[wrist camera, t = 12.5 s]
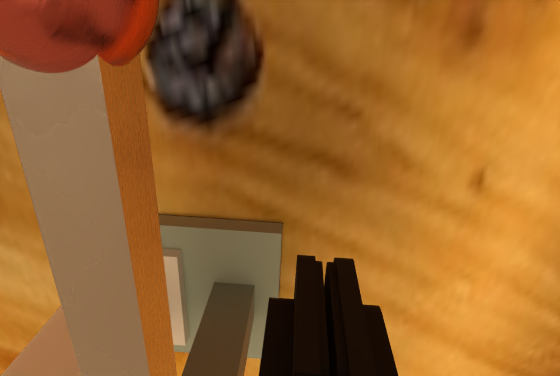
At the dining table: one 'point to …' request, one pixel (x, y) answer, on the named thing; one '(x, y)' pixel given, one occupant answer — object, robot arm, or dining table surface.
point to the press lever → (92, 173)
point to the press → (219, 289)
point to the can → (47, 352)
